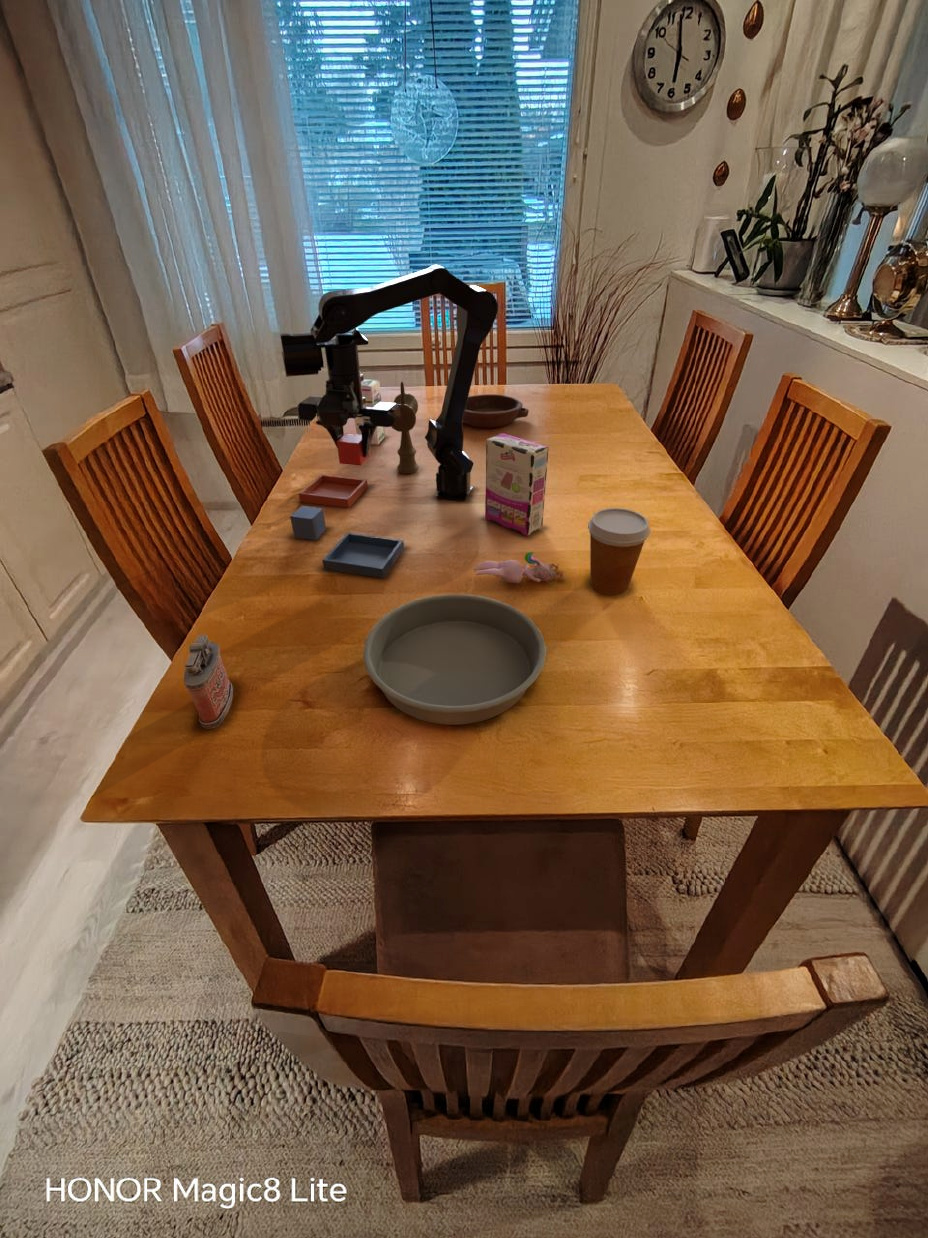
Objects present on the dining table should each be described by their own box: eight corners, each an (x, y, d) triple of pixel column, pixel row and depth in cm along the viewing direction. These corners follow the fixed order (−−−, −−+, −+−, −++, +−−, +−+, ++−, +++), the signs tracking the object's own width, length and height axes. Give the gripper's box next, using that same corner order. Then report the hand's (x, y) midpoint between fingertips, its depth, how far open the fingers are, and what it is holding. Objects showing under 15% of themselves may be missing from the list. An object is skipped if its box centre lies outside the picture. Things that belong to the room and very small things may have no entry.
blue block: (326, 529, 115) (322, 508, 112) (315, 540, 111) (311, 519, 109) (305, 526, 116) (301, 505, 113) (294, 537, 112) (289, 516, 110)
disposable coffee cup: (604, 607, 94) (615, 541, 86) (569, 578, 100) (576, 514, 93) (650, 591, 97) (665, 526, 90) (613, 564, 104) (624, 501, 96)
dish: (532, 431, 157) (533, 412, 154) (449, 432, 157) (449, 414, 154) (524, 410, 171) (525, 392, 168) (448, 411, 171) (448, 393, 167)
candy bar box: (543, 528, 114) (550, 445, 105) (527, 537, 112) (533, 453, 102) (499, 510, 121) (502, 431, 111) (483, 518, 118) (484, 438, 108)
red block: (369, 457, 117) (367, 435, 115) (360, 465, 114) (358, 443, 111) (348, 455, 118) (345, 433, 116) (339, 463, 115) (336, 441, 112)
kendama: (393, 479, 133) (385, 388, 121) (397, 462, 141) (390, 375, 129) (419, 479, 133) (414, 387, 121) (422, 462, 141) (417, 375, 129)
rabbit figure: (551, 573, 104) (469, 570, 100) (560, 544, 100) (475, 539, 97) (562, 593, 99) (476, 590, 95) (571, 563, 96) (482, 559, 92)
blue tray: (404, 549, 108) (403, 539, 107) (383, 578, 101) (382, 568, 100) (348, 541, 111) (347, 532, 110) (323, 569, 103) (322, 559, 102)
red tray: (368, 487, 130) (367, 479, 129) (348, 507, 122) (347, 499, 121) (322, 482, 132) (320, 474, 131) (300, 501, 125) (298, 493, 123)
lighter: (212, 685, 80) (190, 627, 74) (237, 683, 80) (218, 625, 74) (195, 729, 74) (170, 670, 68) (223, 727, 74) (201, 668, 68)
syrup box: (378, 445, 150) (372, 386, 141) (356, 443, 151) (349, 385, 142) (385, 437, 154) (380, 379, 146) (364, 435, 155) (357, 378, 147)
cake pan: (573, 711, 76) (577, 686, 73) (384, 755, 70) (380, 729, 67) (508, 604, 94) (509, 580, 92) (354, 632, 89) (351, 608, 86)
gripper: (275, 380, 102) (291, 466, 111) (376, 388, 98) (384, 476, 107) (304, 364, 110) (317, 445, 120) (398, 370, 107) (404, 454, 116)
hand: (353, 455), depth 116 cm, fingers closed on red block, 4 cm apart
